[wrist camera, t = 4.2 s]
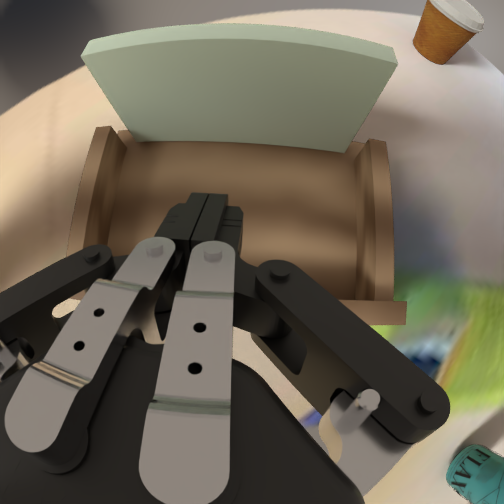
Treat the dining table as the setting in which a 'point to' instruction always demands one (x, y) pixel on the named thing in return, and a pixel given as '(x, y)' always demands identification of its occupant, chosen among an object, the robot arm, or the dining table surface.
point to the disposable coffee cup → (446, 28)
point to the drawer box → (254, 207)
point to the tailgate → (241, 83)
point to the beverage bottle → (478, 475)
